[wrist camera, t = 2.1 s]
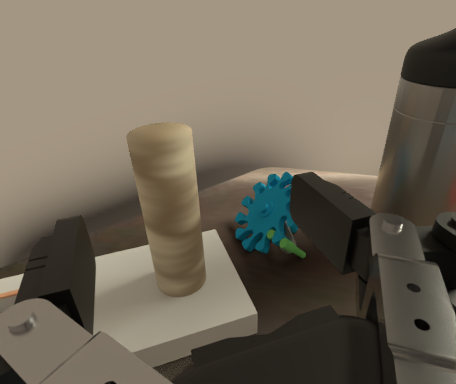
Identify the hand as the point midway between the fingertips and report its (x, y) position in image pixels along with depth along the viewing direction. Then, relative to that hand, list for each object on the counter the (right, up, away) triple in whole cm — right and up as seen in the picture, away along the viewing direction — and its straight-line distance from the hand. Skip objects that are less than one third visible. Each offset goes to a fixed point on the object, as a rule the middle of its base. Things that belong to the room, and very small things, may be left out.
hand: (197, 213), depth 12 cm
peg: (-3, -7, +17) cm, 19 cm away
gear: (+6, -5, +26) cm, 27 cm away
